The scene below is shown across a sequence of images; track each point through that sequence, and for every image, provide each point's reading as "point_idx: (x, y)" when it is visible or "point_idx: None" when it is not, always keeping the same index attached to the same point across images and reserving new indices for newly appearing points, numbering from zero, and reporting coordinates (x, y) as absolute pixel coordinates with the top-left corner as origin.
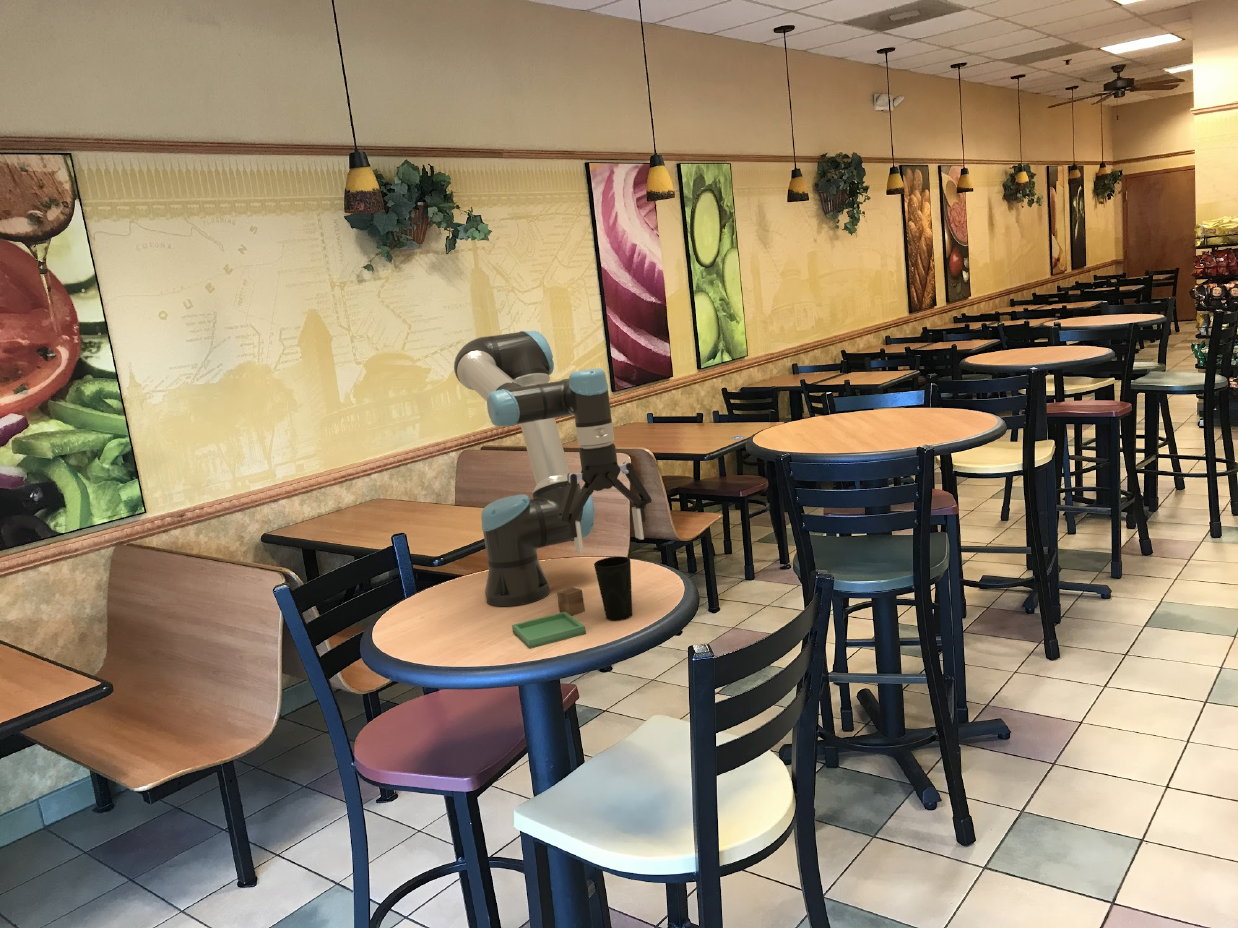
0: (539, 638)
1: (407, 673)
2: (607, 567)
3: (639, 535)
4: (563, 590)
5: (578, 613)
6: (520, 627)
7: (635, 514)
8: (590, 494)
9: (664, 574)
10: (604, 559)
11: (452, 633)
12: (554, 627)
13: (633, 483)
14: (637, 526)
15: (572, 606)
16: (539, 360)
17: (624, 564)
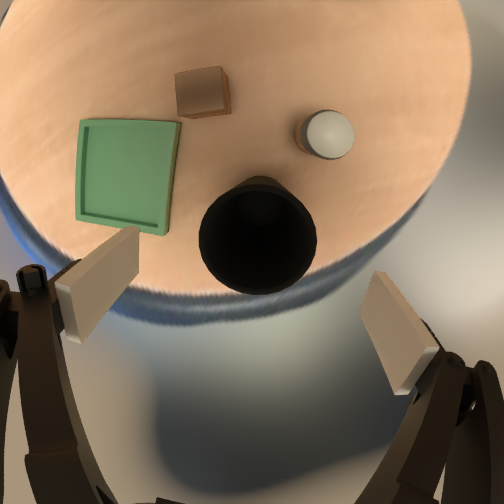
0: (90, 222)
1: None
2: (216, 277)
3: (365, 312)
4: (190, 76)
5: (213, 115)
6: (93, 126)
7: (397, 357)
8: (105, 487)
9: (458, 84)
10: (261, 190)
11: (41, 61)
12: (134, 169)
13: (456, 487)
14: (378, 326)
15: (196, 116)
16: None
17: (265, 294)
